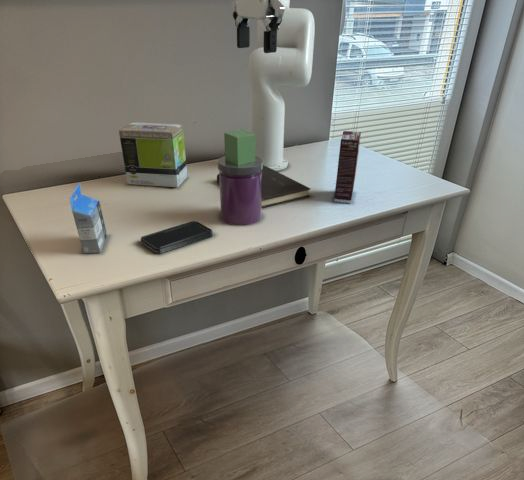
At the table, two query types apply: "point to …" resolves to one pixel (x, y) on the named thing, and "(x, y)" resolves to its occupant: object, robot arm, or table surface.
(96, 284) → the table surface
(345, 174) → the supplement box
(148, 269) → the table surface
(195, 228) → the phone
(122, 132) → the tea box
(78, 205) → the label tape box
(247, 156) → the green block
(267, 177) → the hardcover book
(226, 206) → the jar
